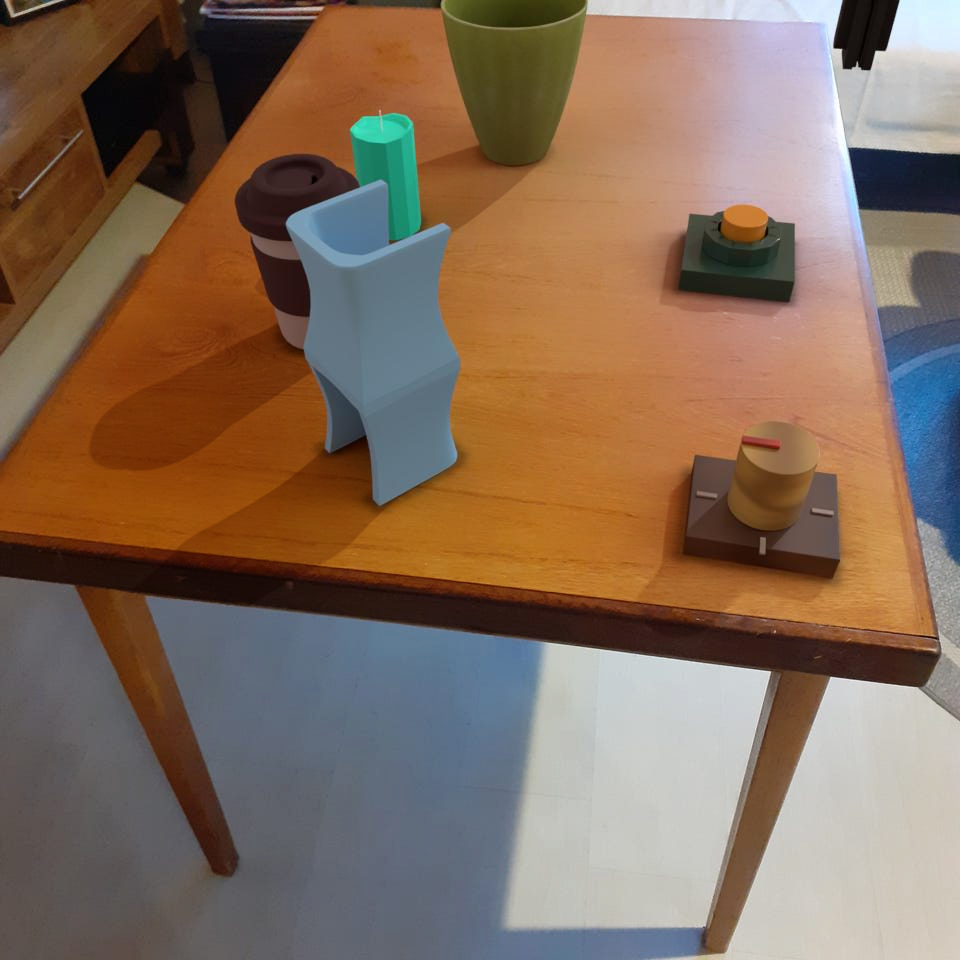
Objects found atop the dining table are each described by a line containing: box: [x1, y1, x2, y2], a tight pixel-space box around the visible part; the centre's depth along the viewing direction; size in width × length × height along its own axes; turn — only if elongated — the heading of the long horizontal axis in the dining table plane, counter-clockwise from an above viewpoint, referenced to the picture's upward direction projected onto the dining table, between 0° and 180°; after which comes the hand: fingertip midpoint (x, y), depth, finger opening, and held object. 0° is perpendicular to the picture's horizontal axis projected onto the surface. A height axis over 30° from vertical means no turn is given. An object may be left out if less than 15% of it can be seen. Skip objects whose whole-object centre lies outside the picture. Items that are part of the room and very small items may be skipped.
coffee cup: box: [234, 153, 360, 351], centre depth 77 cm, size 10×10×15 cm
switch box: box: [677, 210, 796, 303], centre depth 86 cm, size 10×10×4 cm
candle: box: [349, 109, 422, 242], centre depth 90 cm, size 6×6×12 cm
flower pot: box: [440, 0, 589, 166], centre depth 99 cm, size 15×15×16 cm
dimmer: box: [682, 454, 841, 579], centre depth 64 cm, size 10×9×2 cm
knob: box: [727, 420, 821, 531], centre depth 62 cm, size 5×5×6 cm
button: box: [720, 204, 769, 243], centre depth 84 cm, size 4×4×2 cm
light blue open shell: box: [286, 180, 461, 507], centre depth 64 cm, size 8×8×20 cm
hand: (855, 60), depth 56 cm, fingers closed
